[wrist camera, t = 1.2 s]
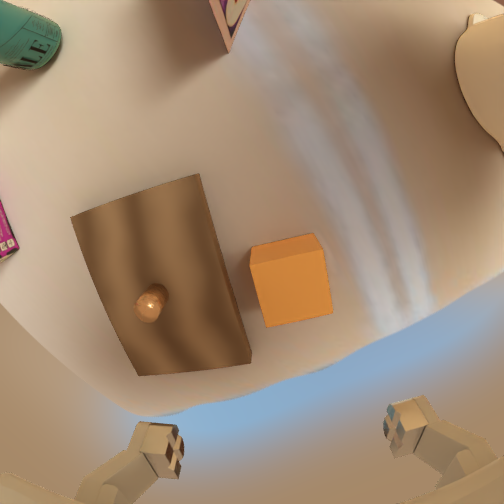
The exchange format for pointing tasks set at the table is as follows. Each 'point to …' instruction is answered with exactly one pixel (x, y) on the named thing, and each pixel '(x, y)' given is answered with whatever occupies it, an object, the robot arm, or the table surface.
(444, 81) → the table surface
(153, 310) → the post
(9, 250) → the candy bar box
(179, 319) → the base plate
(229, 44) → the greeting card
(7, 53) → the beverage bottle
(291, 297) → the orange wooden cube
